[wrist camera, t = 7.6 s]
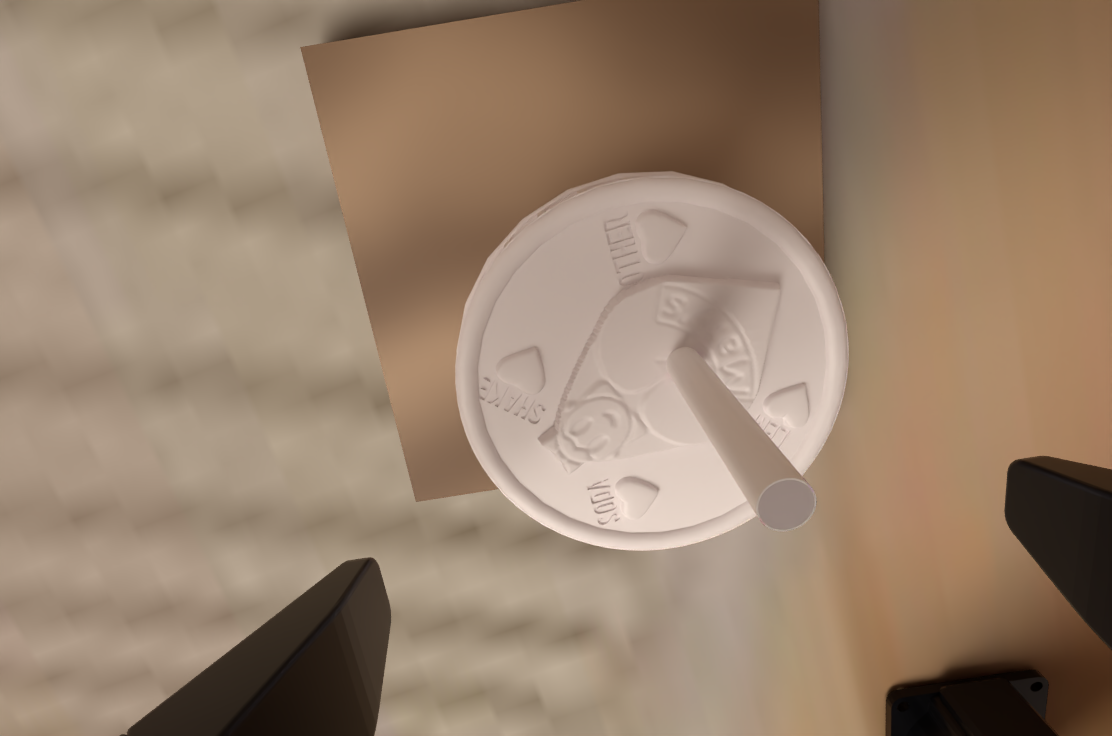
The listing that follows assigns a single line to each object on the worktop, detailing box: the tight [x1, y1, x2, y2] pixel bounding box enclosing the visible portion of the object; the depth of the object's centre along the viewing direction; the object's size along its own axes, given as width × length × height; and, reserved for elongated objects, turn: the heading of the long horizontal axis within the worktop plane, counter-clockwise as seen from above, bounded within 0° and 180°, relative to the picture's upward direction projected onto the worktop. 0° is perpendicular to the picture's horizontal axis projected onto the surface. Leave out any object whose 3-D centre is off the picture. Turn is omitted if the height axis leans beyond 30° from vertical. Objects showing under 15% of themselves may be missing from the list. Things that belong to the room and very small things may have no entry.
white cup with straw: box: [455, 171, 849, 550], centre depth 13 cm, size 6×6×14 cm
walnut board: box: [300, 0, 824, 502], centre depth 20 cm, size 14×14×2 cm
